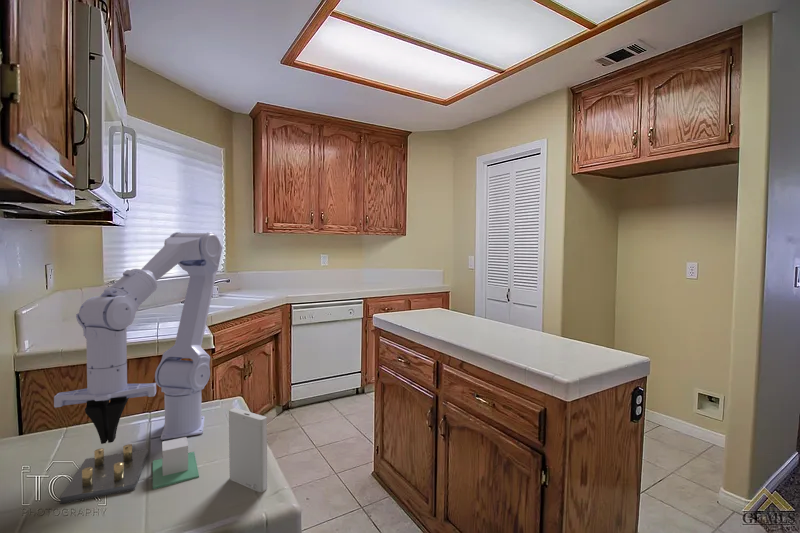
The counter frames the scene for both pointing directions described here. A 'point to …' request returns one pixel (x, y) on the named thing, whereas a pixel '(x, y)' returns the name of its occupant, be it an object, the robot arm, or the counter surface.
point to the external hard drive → (248, 449)
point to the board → (175, 476)
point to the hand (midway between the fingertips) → (108, 440)
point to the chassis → (106, 475)
